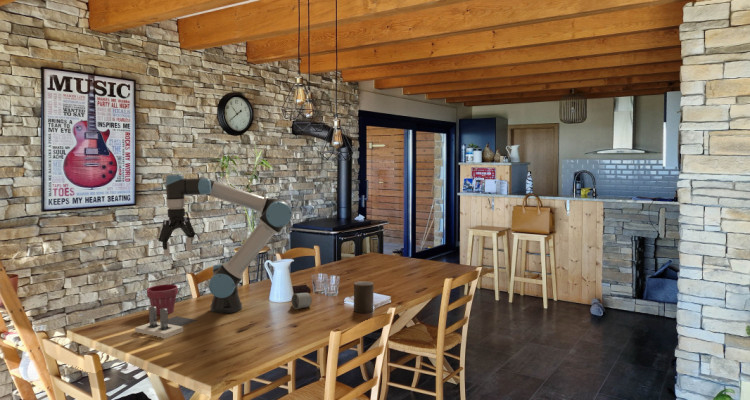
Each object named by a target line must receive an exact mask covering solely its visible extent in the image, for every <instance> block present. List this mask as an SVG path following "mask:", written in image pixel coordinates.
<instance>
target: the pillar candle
mask: <svg viewBox="0 0 750 400" xmlns="http://www.w3.org/2000/svg"><path fill="white" fill-rule="evenodd" d="M353 311H354V312H356V313H359V314H368V313H372V312H374V282H372V281H367V280H362V281H361V280H359V281H355V282H354V283H353Z"/></svg>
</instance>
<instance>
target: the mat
mask: <svg viewBox="0 0 750 400" xmlns="http://www.w3.org/2000/svg"><path fill="white" fill-rule="evenodd" d="M196 321H198V319H195V318H188V317H183V316H173V317H170V318H168V324H171V325H176V326H181V327H184V326H185V325H188V324H191V323H194V322H196Z"/></svg>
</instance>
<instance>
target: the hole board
mask: <svg viewBox="0 0 750 400" xmlns="http://www.w3.org/2000/svg"><path fill="white" fill-rule="evenodd" d="M135 332H139V333H143V334H142V335H144V334H148V335H147V336H149V335H153V336H152V337H154V336H157V337H156V338H159V337H161V338H160V339H164V340H165V339H168V338H170V337H174V336H177V335H178V334H180V333H183V332H184V326H176V325H171V324H168V330H165V331H163V330H161V325H160V321H159V322H158V321H157V327H155V328H150V322H148V323H146V324H142V325H139V326H136V327H134V333H135ZM139 333H138V334H139Z"/></svg>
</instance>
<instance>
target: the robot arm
mask: <svg viewBox="0 0 750 400" xmlns="http://www.w3.org/2000/svg"><path fill="white" fill-rule="evenodd" d="M165 179H166V181H165V188H166V191H165V192H166V203H167V204H166V205H167V208H168V209H167V217H168V219H163V221H162V224H163V225H162V227H161V230H160V234H159V236H158V237H159V238H158V242H161V243H162V249H163V255H164V257H170V256H171V253H170V241H169V240H170V237H171V236H172V234H173V232H174V231H175V230H177V229H181V231H182V232H183V233H184V234H185V236H186V237H185V245H186V246H185V247H186V249H185V250H186V252H193V250H192V249H193V245H192V244H193V238H194V237H195V236H196V232H195V230H194V227H193V225H192V223H191V219H190V216H186V209H185V207H186V206H185V203H186V202H185V196H197V195H198V196H199V195H201V196H202V195H203V196H204V195H205V196H209V197H212V198H215V199H219V200H222V201H224V202H228V203H231V204H234V205H237V206H238V207H244V208H246V209H249V210H252V211H255V212H258V213H259V215H261V216H259V220H258V221H259V223H258V225H256V227H255V228H254V229H253V230H252V232H251V233H250V234H249V236H248V237H247V238H246V239H245V241H244V242H243V243H242V245H240V247H239V248H238V249H237V250H236V252H235V253H234V254H233V256H232V257H231V258H230V259H229V260H228V262H224V263H218V264H215V265H213V266H212V272H213V273H212V276H211V278H210V279H209V281H208V289H209V292H210V294H211V295H213V297H212V300H211V305H210V312H212V313H214V314H231V313H232V314H233V313H236V312H237V313H238V312H239V311H242V309H243V304H242V302H241V299H240V295H239V283H241V281H242V280H243V278H244V276H243V274H244V272H245V271H246V270H247V268H249V266H250V265H251V264H252V262H254V260H255V259H256V258H257V256H258V255H259V253H260V252H261V251H262V250H263V249H264V247H265V246H266V245H267V243H268V242H269V241H270V240H271V238H273V236H274V235H277V234H280V232H281V231H282V230H283V228H284V227H285V226H286V225H288V224H289V223H290V222H291V220H292V217H293V210H292V208H291V206H290V204H289V203H288V202H287V201H286V200H283V199H279V198H273V197H270V196H265V197H264V196H261V195H258V194H255V193H251V192H248V191H245V190H243V189H239V188H236V187H233V186H230V185H226V184H223V183H221V182H218V181H214V180H212V179H210V178H207V177H204V176H200V177H197V178H184V175H183V174H168V175H166V178H165Z"/></svg>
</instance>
